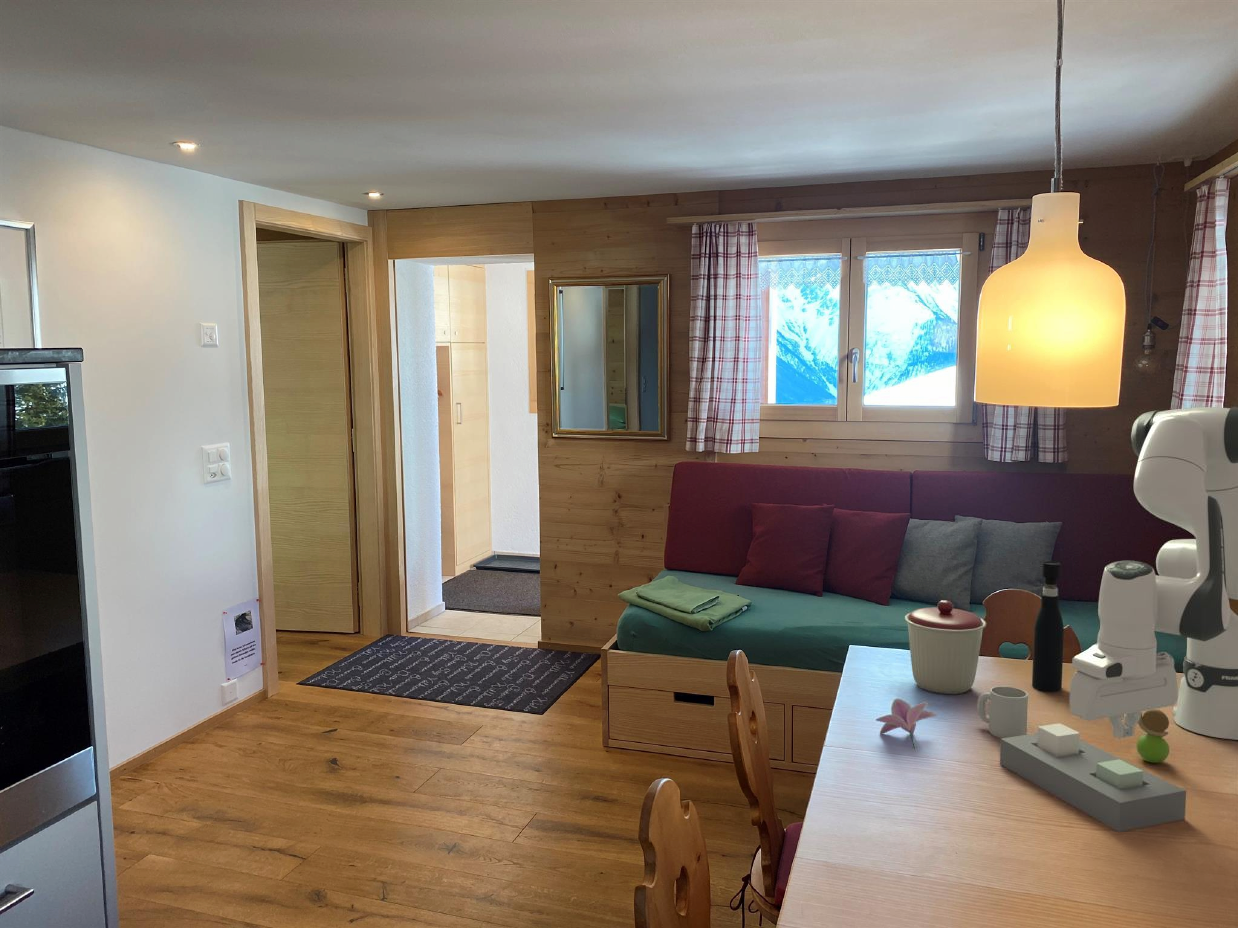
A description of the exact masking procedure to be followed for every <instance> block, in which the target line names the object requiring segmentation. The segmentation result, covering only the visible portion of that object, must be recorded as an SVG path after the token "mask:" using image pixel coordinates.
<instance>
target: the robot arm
mask: <svg viewBox="0 0 1238 928" xmlns="http://www.w3.org/2000/svg"><path fill="white" fill-rule="evenodd" d="M1130 436H1131V437H1130V438H1131V440H1130V441H1131V446H1132V450H1133V452H1134V454H1135V455H1136V456H1137V457H1138V459H1137V463H1136V467H1135V473H1134V478H1133V493H1134V496H1135V498H1136V499H1137V502H1139V503H1140V505H1141V506H1142V507H1143V508H1144V509H1145V510H1146V511H1148V512H1149V513H1150V514H1152V515H1154V517H1156V518H1158V519H1160V520H1163V521H1165V522H1168V523H1171V524H1174V525H1175V526H1177V527H1180V528H1182V529H1184V530H1186V531H1188V532H1189V533H1191V534H1192V535H1193V536H1194V538H1181V539H1172V540H1169V541H1167V542H1165V543H1164V544H1163V545H1162V546H1161V547H1160V549H1159V551H1158V553H1157V555H1156V559H1155V565H1156V571H1157V574H1158V575H1157V574H1156V572H1155V570H1154V568H1153V567H1152V566H1151V565H1150V564H1148V563H1146V562H1142V561H1139V560H1138V561H1137V560H1136V561H1135V560H1119V561H1114V562H1111V563H1109V564H1107V565H1106V566H1105V567H1104V570H1103V573H1102V578H1101V583H1100V589H1099V596H1098V606H1097V607H1098V609H1097V611H1098V619H1099V622H1100V625H1099V627H1100V628H1099V630H1098V634H1097V642H1096V643H1095V644H1092V645H1091V646H1090V647H1089V648H1088V649H1086V650H1084V651H1083V652H1081V653H1079V654H1076V655H1075V656H1074V657H1072V661H1071V665H1072V666H1071V667H1072V668H1073V669H1074V670H1076V671H1075V672H1074V673H1073V675H1072V677H1071V681H1070V686H1069V709H1070V711H1071V713H1072V714H1073V715H1074V716H1076V717H1078V718H1080V719H1082V720H1084V721H1094V720H1101V719H1107V718H1108V720H1109V723H1110V724H1111V726H1112V735H1113V736H1114V738H1117V739H1125V738H1130V737H1134V736H1135V727H1136V726H1137V725H1138V721H1139V719H1140V717H1141V712H1146V711H1148V710H1151V709H1156V710H1158V709H1160V708H1161V709H1162V708H1168V707H1172V706H1173V709H1172V713H1173V714H1174V718H1173V720H1174V722H1175V724H1177V725H1178V726H1179V727H1181V728H1184V729H1185V730H1187V731H1190V732H1193V733H1197V734H1200V735H1203V736H1207V737H1212V738H1220V739H1227V740H1236V741H1238V615H1237V614H1236V613H1235V612H1234V611H1233V610H1232V608H1231V607H1230V605H1231V604H1230V599H1232V600H1236V601H1238V406H1231V408H1229V407H1216V406H1194V407H1191V408H1190V407H1189V408H1176V409H1169V410H1168V409H1166V410H1163V411H1162V410H1159V409H1157V410H1152V411H1148V412H1144V413H1142V414H1140V415H1139V416H1138V417H1137V418H1136V420H1134V422H1133V424H1132V428H1131V433H1130ZM1155 632H1158V633H1165V634H1170V635H1177V636H1181V637H1183V638H1184V637H1185V638H1186V647H1187V648H1186V655H1185V656H1184V658H1183V659H1184V660H1183V663H1182V666H1183V669H1182V672H1183V675H1184V676H1183V677H1181V679H1180V684H1179V687H1178V677H1177V671H1176V669H1175V659H1174V658H1173V656H1172V655H1171V654H1169V653H1168V652H1165V651H1159V652H1158V653H1157V647H1158V646H1157V643H1158V642H1157V638H1156V633H1155ZM1178 688H1179V689H1178ZM1175 704H1176V706H1174V705H1175ZM1125 715H1126V716H1125ZM1122 721H1123V722H1122Z"/></svg>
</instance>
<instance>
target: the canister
mask: <svg viewBox="0 0 1238 928" xmlns="http://www.w3.org/2000/svg"><path fill="white" fill-rule="evenodd" d="M904 621H905V622H906V623H907V629H908V642H909V652H910V661H911V671H912V676H913V680H914V681H915V684H916V685H918V686H919V687H920V688H921V689H923V690H926V691H928V692H932V693H937V694H942V695H943V694H945V695H959V694H963V693H967V692H968V691H970V690H971V689H972V687H973V686H974V683H975V680H976V675H977V674H976V673H977V668H978V663H979V659H980V658H979V656H980V652H981V651H980V650H981V643H982V636H983V630H984V628H986V627H987V622H986V620H984V619H983V618H981V617H979V615H977V614H975V613H974V612H970V611H967V610H963V609H959V608H954V604H953V602H951V601H950V600H946V599H945V600H944V599H943V600H939V602H937V606H936V607H935V606H934V607H932V606H931V607H923V608H918V609H914V610H913V611H911V612H909V613H907V614H906V615H905V616H904Z"/></svg>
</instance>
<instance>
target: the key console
mask: <svg viewBox="0 0 1238 928" xmlns="http://www.w3.org/2000/svg"><path fill="white" fill-rule="evenodd" d="M1037 737H1038V732H1036V733H1030V734H1029V733H1028V734H1026V735H1021V736H1015V737H1008V738H1000V749H999V750H1000V754H999V765H1001V766H1003V767H1004V768H1006V769H1008V770H1009V771H1011V772H1014V773H1015V774H1017V775H1019V776H1021V777H1022V778H1024V779H1025V780H1027V781H1029V782H1031V783H1033V784H1034V785H1036V786H1038V787H1039V788H1040V789H1043V790H1044V791H1046V792H1048V793H1050V794H1051V795H1053V796H1054V797H1057V798H1059V800H1061V801H1063V802H1066V803H1067V804H1069V805H1071V806H1072V807H1073V808H1076V809H1078V810H1079V811H1081V812H1082V813H1085V814H1086V815H1088V816H1089V817H1092V818H1094V819H1095V820H1096V821H1099V822H1100V823H1101V824H1104V825H1105V826H1107V827H1109V828H1111V829H1112V830H1114V831H1116V832H1118V833H1121V832H1126V831H1131V830H1137V829H1140V828H1146V827H1152V826H1157V825H1163V824H1167V823H1171V822H1178V821H1182V820H1185V819H1186V802H1187V790H1186V789H1184V788H1183V787H1180V786H1178V785H1176V784H1174V783H1173V782H1169V781H1168V780H1166V779H1163V778H1161V777H1159V776H1157V775H1155V774H1153V773H1151V772H1148V771H1147V770H1145V769H1143V768H1141V767H1139V766H1137V765H1135V764H1132V763H1130V762H1128V761H1126V760H1124V759H1122V758H1121V757H1118V756H1116V755H1113V754H1111V753H1110V752H1108V751H1105V750H1104V749H1101V748H1099V747H1098V746H1095V745H1093V744H1091V743H1089V742H1086V741H1085V740H1084V739H1083V740H1082V739H1081V738H1080V743H1079V754H1073V755H1067V756H1061V757H1056V756H1054V755H1052V754H1050V753H1048V752H1046V751H1044V750H1042V749H1040V748H1038V747H1037ZM1118 759H1120V760H1122V761H1124V762H1126V763H1128V764H1130V765H1132V766H1134V767H1136V768H1138V769H1140V770H1142V771H1143V786H1138V787H1133V788H1127V789H1122V790H1119V789H1117V788H1115V787H1113V786H1111V785H1109V784H1107V783H1105V782H1103V781H1102V780H1100V779H1098V778H1096V764H1097V763H1100V762H1106V761H1112V760H1118Z"/></svg>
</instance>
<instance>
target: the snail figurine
mask: <svg viewBox="0 0 1238 928" xmlns="http://www.w3.org/2000/svg"><path fill="white" fill-rule="evenodd" d="M1142 712H1143V711H1141V717H1140V719H1139V721H1138V723H1137V725H1138V726H1139V728H1140V729H1141V731H1144V732H1145V733H1144V734H1143V735H1141V736H1140V737H1139V738H1138V740H1137V743H1136V750H1137V752H1138V754H1139V756H1140V757H1141V758H1142V759H1143V760H1145V761H1146V762H1149V763H1154V764H1155V763H1156V764H1158V763H1159V764H1160V763H1162V762H1164V761H1165V760H1167V758H1168V757H1169V755H1170V746H1169V744H1168V741H1167V740H1166V739H1165V738H1164V737H1166V736H1168V735H1169V734H1170V733H1169V732H1168V731H1166V730H1167V729H1168V728H1169V726H1170V721H1169V718H1168V716H1167V714H1166V713H1164V711H1161V710H1160V709H1151V710H1146V711H1144V713H1142Z"/></svg>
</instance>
